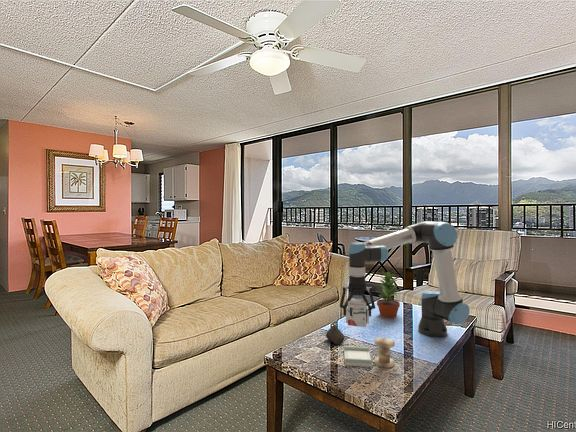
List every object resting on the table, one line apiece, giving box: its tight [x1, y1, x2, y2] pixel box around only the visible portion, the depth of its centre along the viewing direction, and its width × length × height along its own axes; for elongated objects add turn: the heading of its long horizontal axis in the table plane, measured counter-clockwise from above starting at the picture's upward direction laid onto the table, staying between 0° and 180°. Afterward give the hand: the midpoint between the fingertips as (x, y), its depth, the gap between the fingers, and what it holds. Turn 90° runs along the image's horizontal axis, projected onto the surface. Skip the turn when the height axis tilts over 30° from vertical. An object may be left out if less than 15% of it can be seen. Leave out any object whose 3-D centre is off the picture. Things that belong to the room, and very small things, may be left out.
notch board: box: [343, 345, 373, 368], centre depth 154 cm, size 12×15×3 cm
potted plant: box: [376, 270, 401, 319], centre depth 213 cm, size 15×15×30 cm
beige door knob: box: [373, 337, 396, 369], centre depth 149 cm, size 9×9×10 cm
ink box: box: [347, 297, 368, 328], centre depth 153 cm, size 8×5×12 cm, turn 73°
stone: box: [325, 326, 345, 346], centre depth 174 cm, size 10×8×10 cm
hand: (357, 322), depth 153 cm, fingers closed on ink box, 9 cm apart
